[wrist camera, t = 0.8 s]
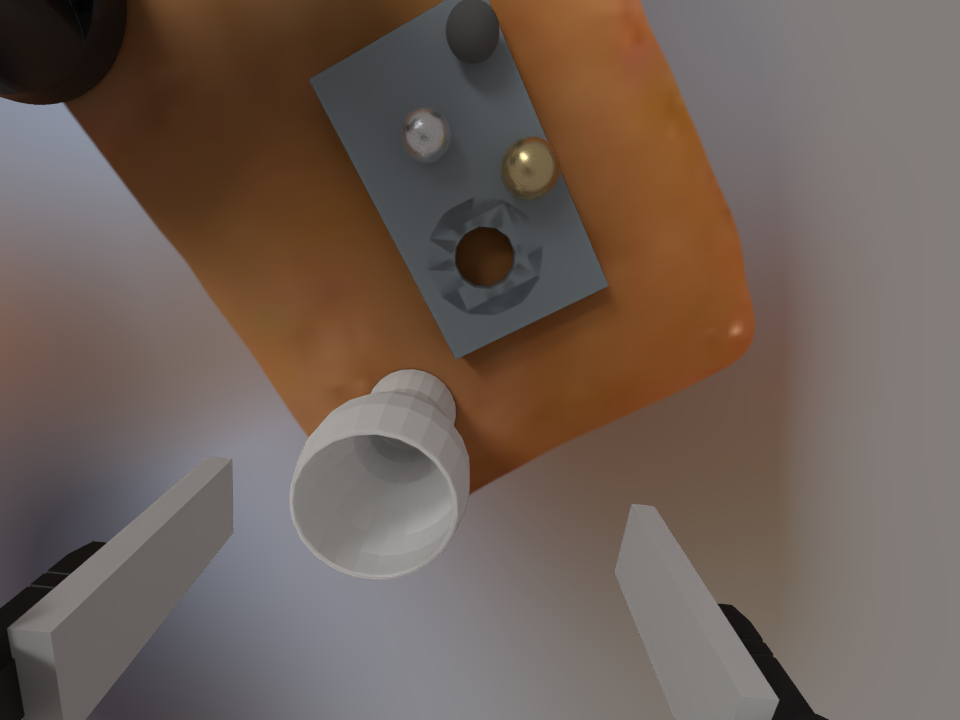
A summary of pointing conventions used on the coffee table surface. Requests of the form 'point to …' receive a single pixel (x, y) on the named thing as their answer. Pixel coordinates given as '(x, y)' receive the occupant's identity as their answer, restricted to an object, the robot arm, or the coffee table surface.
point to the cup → (383, 479)
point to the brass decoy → (529, 168)
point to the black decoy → (472, 31)
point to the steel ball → (425, 134)
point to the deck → (457, 179)
